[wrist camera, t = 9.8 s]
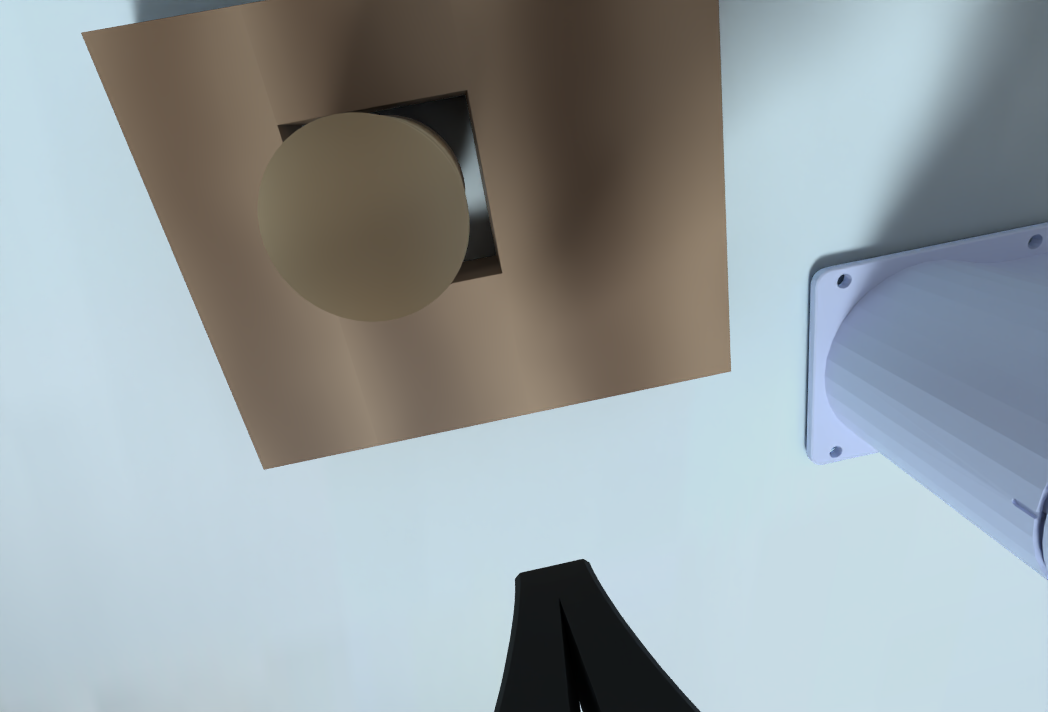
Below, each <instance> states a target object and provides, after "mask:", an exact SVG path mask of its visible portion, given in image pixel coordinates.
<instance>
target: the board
mask: <svg viewBox="0 0 1048 712" xmlns="http://www.w3.org/2000/svg"><path fill="white" fill-rule="evenodd" d="M81 34H82V36H83V39H84V41H85V43H86V46H87V48H88V51H89V53H90V55H91V58H92V60H93V62H94V65H95V67H96V70H97V72H98V74H99V77H100V79H101V82H102V84H103V86H104V89H105V91H106V94H107V96H108V98H109V101H110V103H111V105H112V108H113V110H114V113H115V115H116V117H117V120H118V122H119V125H120V127H121V129H122V132H123V134H124V137H125V139H126V141H127V144H128V146H129V149H130V151H131V153H132V156H133V158H134V160H135V163H136V165H137V168H138V170H139V172H140V175H141V177H142V180H143V182H144V184H145V187H146V189H147V192H148V194H149V196H150V199H151V201H152V203H153V206H154V208H155V211H156V213H157V215H158V218H159V220H160V223H161V225H162V227H163V230H164V232H165V235H166V237H167V239H168V242H169V244H170V246H171V249H172V251H173V254H174V256H175V258H176V261H177V263H178V266H179V268H180V270H181V273H182V275H183V278H184V280H185V282H186V285H187V287H188V289H189V292H190V294H191V297H192V299H193V301H194V304H195V306H196V309H197V311H198V313H199V316H200V318H201V321H202V323H203V325H204V328H205V330H206V333H207V335H208V337H209V340H210V342H211V344H212V347H213V349H214V352H215V354H216V356H217V359H218V361H219V364H220V366H221V368H222V371H223V373H224V376H225V378H226V380H227V383H228V385H229V387H230V390H231V392H232V395H233V397H234V399H235V402H236V404H237V407H238V409H239V411H240V414H241V416H242V419H243V421H244V423H245V426H246V428H247V430H248V433H249V435H250V438H251V440H252V442H253V445H254V447H255V450H256V452H257V454H258V457H259V459H260V462H261V464H262V466H263V469H264V470H265V469H269V468H274V467H279V466H284V465H288V464H293V463H298V462H303V461H307V460H312V459H317V458H322V457H326V456H331V455H336V454H341V453H345V452H350V451H355V450H360V449H364V448H369V447H374V446H379V445H383V444H388V443H393V442H398V441H402V440H407V439H412V438H417V437H421V436H426V435H431V434H436V433H440V432H445V431H450V430H455V429H459V428H464V427H469V426H473V425H478V424H483V423H488V422H492V421H497V420H502V419H507V418H511V417H516V416H521V415H526V414H530V413H535V412H540V411H545V410H549V409H554V408H559V407H564V406H568V405H573V404H578V403H583V402H587V401H592V400H597V399H602V398H606V397H611V396H616V395H621V394H625V393H630V392H635V391H640V390H644V389H649V388H654V387H659V386H663V385H668V384H673V383H678V382H682V381H687V380H692V379H697V378H701V377H706V376H711V375H716V374H720V373H725V372H730V371H731V358H730V328H729V298H728V268H727V238H726V209H725V179H724V149H723V119H722V89H721V59H720V29H719V0H265V1H259V2H253V3H248V4H242V5H236V6H230V7H225V8H219V9H213V10H208V11H202V12H196V13H191V14H185V15H179V16H174V17H168V18H162V19H157V20H151V21H145V22H140V23H134V24H128V25H122V26H117V27H111V28H105V29H100V30H94V31H88V32H83V33H81ZM463 95H465V97H466V102H467V107H468V112H469V117H470V122H471V128H472V133H473V138H474V143H475V148H476V153H477V159H478V164H479V169H480V174H481V179H482V184H483V189H484V195H485V200H486V205H487V210H488V215H489V220H490V225H491V231H492V236H493V241H494V246H495V251H496V255H495V256H490V257H485V258H480V259H475V260H469V261H464V262H462V265H461V267H460V269H459V271H458V273H457V275H456V277H455V278H454V280H453V281H452V282H451V284H450V285H449V286H448V288H447V289H446V290H445V291H444V292H443V293H442V294H441V295H440V296H439V297H438V298H437V299H436V300H434V301H433V302H432V303H430V304H429V305H428V306H426V307H424V308H423V309H421V310H419V311H417V312H415V313H413V314H410V315H408V316H405V317H402V318H398V319H394V320H388V321H379V322H366V321H356V320H351V319H347V318H342V317H339V316H336V315H334V314H331V313H328V312H326V311H324V310H322V309H320V308H318V307H316V306H315V305H313V304H312V303H310V302H309V301H307V300H305V299H304V298H303V297H302V296H301V295H299V294H298V293H297V292H296V291H295V290H294V289H293V288H292V287H291V286H290V285H289V284H288V283H287V282H286V281H285V280H284V279H283V277H282V276H281V275H280V273H279V272H278V271H277V269H276V268H275V266H274V264H273V263H272V261H271V259H270V257H269V255H268V253H267V250H266V248H265V246H264V243H263V240H262V236H261V233H260V228H259V221H258V196H259V188H260V185H261V181H262V177H263V174H264V172H265V170H266V167H267V165H268V163H269V161H270V160H271V158H272V156H273V155H274V153H275V152H276V150H277V149H278V148H279V147H280V146H281V144H282V143H283V142H284V141H285V140H286V139H287V138H288V137H289V136H291V135H292V134H293V133H294V132H295V131H297V130H298V129H300V128H301V127H302V125H306V124H308V123H310V122H312V121H315V120H317V119H319V118H322V117H326V116H330V115H333V114H339V113H348V112H358V113H371V112H377V111H382V110H387V109H393V108H398V107H403V106H409V105H414V104H420V103H425V102H430V101H436V100H441V99H447V98H452V97H457V96H463Z"/></svg>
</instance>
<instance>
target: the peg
mask: <svg viewBox="0 0 1048 712" xmlns="http://www.w3.org/2000/svg"><path fill="white" fill-rule="evenodd" d="M258 221H259V228H260V233H261V236H262V240H263V243H264V246H265V248H266V250H267V253H268V255H269V257H270V259H271V261H272V263H273V264H274V266H275V268H276V269H277V271H278V272H279V273H280V275H281V276H282V277H283V279H284V280H285V281H286V282H287V283H288V284H289V285H290V286H291V287H292V288H293V289H294V290H295V291H296V292H297V293H298V294H299V295H301V296H302V297H303V298H304V299H305V300H307V301H309V302H310V303H312V304H313V305H315V306H316V307H318V308H320V309H322V310H324V311H326V312H328V313H331V314H334V315H336V316H339V317H342V318H347V319H351V320H356V321H366V322H379V321H388V320H394V319H398V318H402V317H405V316H408V315H410V314H413V313H415V312H417V311H419V310H421V309H423V308H424V307H426V306H428V305H429V304H430V303H432V302H433V301H434V300H436V299H437V298H438V297H439V296H440V295H441V294H442V293H443V292H444V291H445V290H446V289H447V288H448V286H449V285H450V284H451V282H452V281H453V280H454V278H455V277H456V275H457V273H458V271H459V269H460V267H461V265H462V262H463V260H464V257H465V254H466V250H467V246H468V240H469V232H470V226H469V211H468V205H467V200H466V195H465V183H464V177H463V174H462V170H461V167H460V164H459V162H458V160H457V158H456V156H455V154H454V152H453V151H452V149H451V148H450V146H449V145H448V144H447V142H446V141H445V140H444V139H443V138H442V137H441V136H440V135H439V134H437V133H436V132H435V131H434V130H433V129H431V128H429V127H428V126H426V125H425V124H423V123H421V122H418V121H416V120H414V119H411V118H407V117H403V116H397V115H377V114H370V113H358V112H348V113H339V114H333V115H330V116H326V117H322V118H319V119H317V120H315V121H312V122H310V123H308V124H306V125H305V126H303V127H301V128H300V129H298V130H297V131H295V132H294V133H293V134H292V135H291V136H289V137H288V138H287V139H286V140H285V141H284V142H283V143H282V144H281V146H280V147H279V148H278V149H277V150H276V152H275V153H274V155H273V156H272V158H271V160H270V161H269V163H268V165H267V167H266V170H265V172H264V174H263V177H262V181H261V185H260V188H259V196H258Z"/></svg>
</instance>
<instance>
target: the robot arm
mask: <svg viewBox="0 0 1048 712" xmlns="http://www.w3.org/2000/svg"><path fill="white" fill-rule="evenodd" d="M1031 238H1032V239H1031ZM1030 239H1031V242H1030V243H1029V240H1030ZM1028 243H1029V244H1028ZM843 274H844V280H843V282H842V283H841V284H839V285H837V281H838V278H839V277H840V276H841V275H843ZM833 447H836V448H835V449H834V450H833V451H831V452H830V450H831V449H832V448H833ZM878 452H880V453H881V454H882V455H884V456H885V457H886V458H887V459H889V460H890V461H891V462H893V463H894V464H895V465H897V466H898V467H899V468H901V469H902V470H903V471H905V472H906V473H907V474H909V475H910V476H911V477H912V478H914V479H915V480H916V481H918V482H919V483H920V484H922V485H923V486H924V487H926V488H927V489H928V490H930V491H931V492H932V493H933V494H935V495H936V496H937V497H939V498H940V499H941V500H943V501H944V502H945V503H947V504H948V505H949V506H951V507H952V508H953V509H955V510H956V511H957V512H958V513H960V514H961V515H962V516H964V517H965V518H966V519H968V520H969V521H970V522H972V523H973V524H974V525H976V526H977V527H978V528H980V529H981V530H982V531H983V532H985V533H986V534H987V535H989V536H990V537H991V538H993V539H994V540H995V541H997V542H998V543H999V544H1001V545H1002V546H1003V547H1005V548H1006V549H1007V550H1008V551H1010V552H1011V553H1012V554H1014V555H1015V556H1016V557H1018V558H1019V559H1020V560H1022V561H1023V562H1024V563H1026V564H1027V565H1028V566H1029V567H1031V568H1032V569H1033V570H1035V571H1036V572H1037V573H1039V574H1040V575H1041V576H1043V577H1044V578H1045V579H1047V580H1048V222H1046V223H1041V224H1036V225H1031V226H1026V227H1021V228H1016V229H1012V230H1007V231H1002V232H997V233H992V234H987V235H982V236H977V237H972V238H967V239H963V240H958V241H953V242H948V243H943V244H938V245H933V246H928V247H923V248H918V249H914V250H909V251H904V252H899V253H894V254H889V255H884V256H879V257H874V258H869V259H865V260H860V261H855V262H850V263H845V264H840V265H835V266H830V267H825V268H823V269H820V270H819V271H818V272H816V273H815V275H814V276H813V278H812V281H811V295H810V334H809V374H808V413H807V452H806V453H807V457H808V458H809V459H810V460H811V461H812V462H813V463H815V464H817V465H823V464H827V463H832V462H837V461H841V460H846V459H850V458H855V457H859V456H864V455H869V454H873V453H878ZM579 701H580V703H579ZM580 705H581V708H582V711H583V712H700V711H699V709H698V708H697V707H696V706H695V705H694V704H693V703H692V702H691V701H690V700H689V699H688V697H687V696H686V695H685V694H684V693H683V692H682V691H681V690H680V689H679V687H678V686H677V685H676V684H675V683H674V682H673V680H672V679H671V678H670V677H669V676H668V675H667V674H666V672H665V671H664V670H663V669H662V668H661V666H660V665H659V664H658V663H657V662H656V660H655V659H654V658H653V657H652V655H651V654H650V653H649V652H648V650H647V649H646V648H645V646H644V645H643V644H642V643H641V641H640V640H639V639H638V637H637V636H636V635H635V633H634V632H633V631H632V630H631V628H630V627H629V626H628V624H627V623H626V622H625V620H624V619H623V617H622V616H621V615H620V613H619V612H618V610H617V609H616V607H615V606H614V604H613V603H612V601H611V600H610V598H609V597H608V595H607V594H606V592H605V590H604V589H603V587H602V586H601V584H600V582H599V580H598V579H597V577H596V575H595V573H594V571H593V569H592V567H591V565H590V563H589V562H587V561H586V560H584V559H581V560H576V561H572V562H567V563H563V564H558V565H554V566H549V567H545V568H540V569H536V570H531V571H527V572H522V573H520V574H519V575H518V576H517V577H516V578H515V605H514V615H513V623H512V629H511V636H510V642H509V647H508V653H507V658H506V663H505V668H504V673H503V678H502V683H501V687H500V691H499V695H498V699H497V703H496V707H495V710H494V712H581V710H580Z"/></svg>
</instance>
